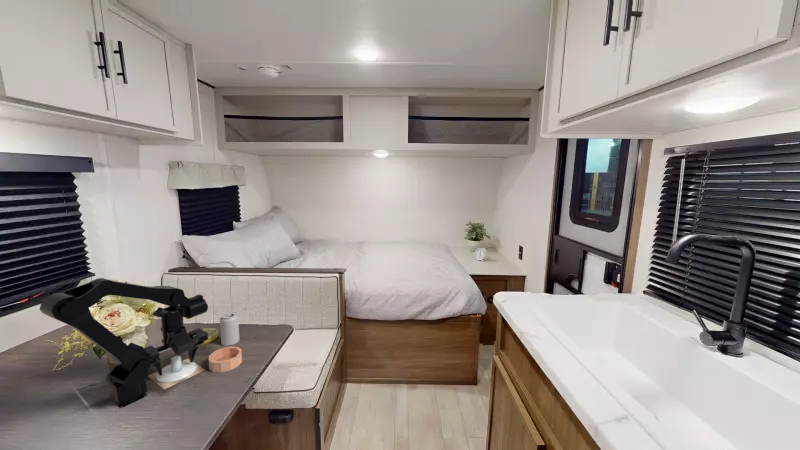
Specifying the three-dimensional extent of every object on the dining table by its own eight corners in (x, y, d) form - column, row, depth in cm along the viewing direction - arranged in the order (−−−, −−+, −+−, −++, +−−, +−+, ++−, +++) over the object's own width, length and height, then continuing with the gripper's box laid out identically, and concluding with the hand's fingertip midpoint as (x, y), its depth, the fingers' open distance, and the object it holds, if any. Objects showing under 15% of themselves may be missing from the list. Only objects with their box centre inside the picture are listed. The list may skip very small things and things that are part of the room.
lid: (165, 387, 96) (163, 372, 95) (149, 375, 102) (148, 360, 101) (202, 370, 106) (201, 355, 105) (186, 359, 111) (185, 346, 110)
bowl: (219, 377, 103) (218, 366, 102) (203, 367, 108) (203, 356, 108) (247, 362, 111) (247, 352, 111) (232, 353, 117) (231, 343, 116)
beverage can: (234, 347, 121) (232, 318, 119) (217, 347, 121) (216, 318, 119) (242, 339, 127) (241, 311, 125) (227, 338, 127) (225, 311, 126)
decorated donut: (202, 333, 132) (202, 324, 131) (224, 336, 130) (223, 327, 129) (180, 345, 122) (179, 336, 121) (203, 349, 119) (202, 340, 119)
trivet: (164, 391, 96) (164, 389, 96) (147, 377, 102) (147, 375, 102) (205, 371, 106) (205, 369, 106) (188, 360, 112) (187, 358, 112)
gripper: (148, 344, 89) (153, 393, 91) (215, 320, 105) (218, 363, 107) (133, 333, 95) (137, 380, 97) (198, 312, 111) (201, 352, 113)
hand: (176, 368), depth 103 cm, fingers open, 9 cm apart
